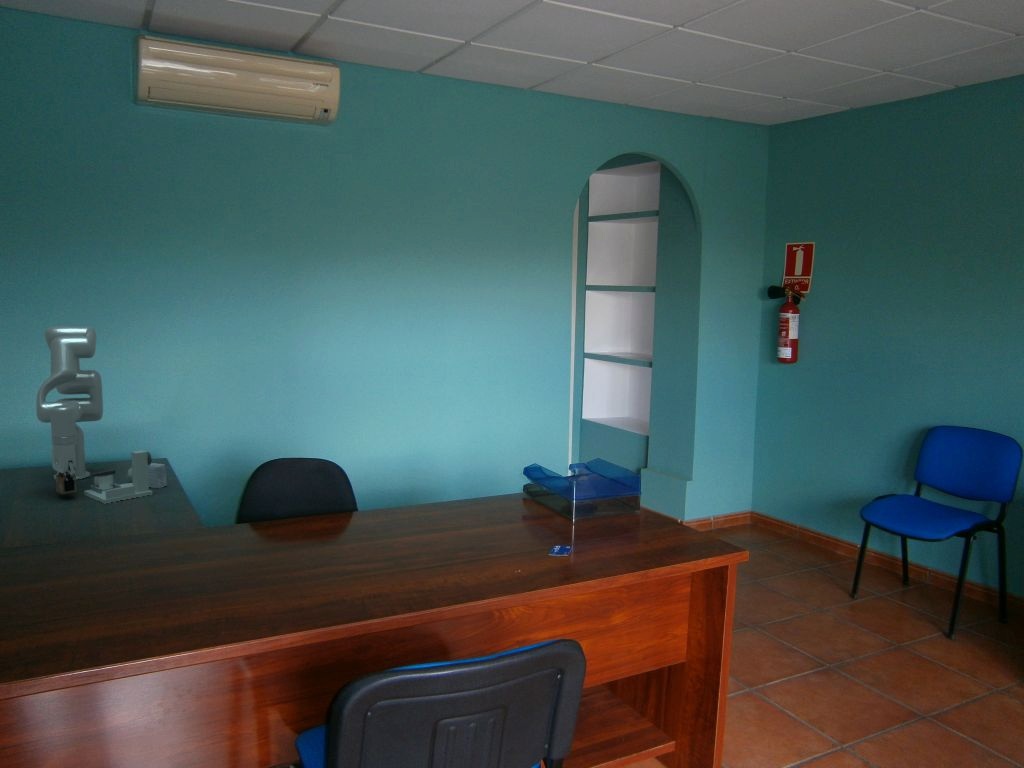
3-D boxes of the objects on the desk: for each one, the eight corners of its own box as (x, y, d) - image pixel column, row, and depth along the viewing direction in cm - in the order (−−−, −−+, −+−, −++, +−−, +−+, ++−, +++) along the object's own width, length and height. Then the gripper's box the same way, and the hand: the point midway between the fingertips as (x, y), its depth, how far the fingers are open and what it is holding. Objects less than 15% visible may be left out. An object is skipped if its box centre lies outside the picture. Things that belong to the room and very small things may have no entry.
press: (84, 494, 290) (82, 451, 288) (133, 486, 303) (131, 445, 301) (104, 504, 279) (102, 459, 277) (154, 494, 292) (153, 452, 290)
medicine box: (166, 486, 304) (166, 464, 303) (158, 489, 300) (157, 466, 299) (150, 484, 307) (149, 462, 306) (141, 487, 302) (140, 464, 301)
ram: (90, 489, 291) (89, 472, 290) (112, 485, 297) (112, 469, 296) (94, 491, 288) (94, 474, 287) (117, 487, 294) (116, 471, 293)
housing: (56, 491, 286) (55, 474, 285) (71, 488, 289) (70, 471, 288) (61, 494, 283) (60, 477, 282) (76, 491, 286) (75, 474, 285)
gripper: (43, 437, 286) (46, 485, 289) (61, 445, 275) (64, 496, 278) (65, 434, 291) (68, 482, 294) (84, 442, 280) (87, 492, 283)
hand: (66, 488), depth 286 cm, fingers closed on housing, 5 cm apart
